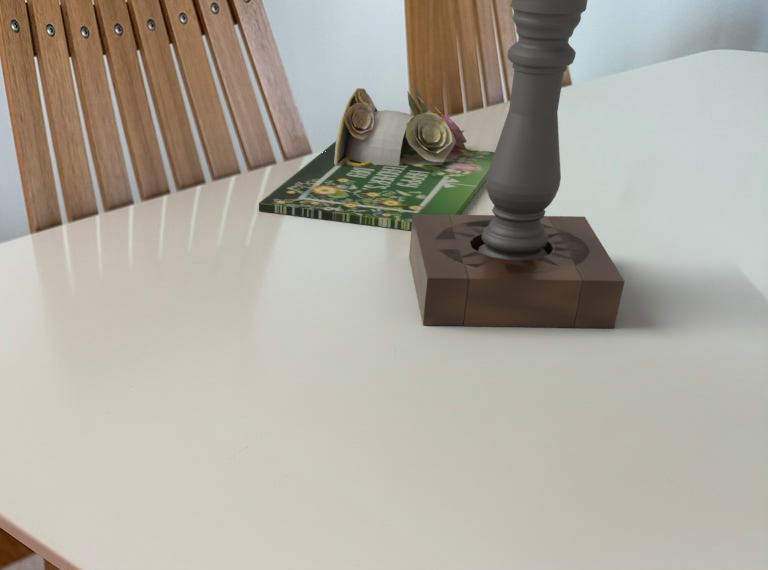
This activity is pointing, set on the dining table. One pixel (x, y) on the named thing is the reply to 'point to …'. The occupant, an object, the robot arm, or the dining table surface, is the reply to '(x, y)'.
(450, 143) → the decorative card
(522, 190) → the grey baluster
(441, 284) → the holder
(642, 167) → the dining table surface
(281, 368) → the dining table surface
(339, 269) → the dining table surface
